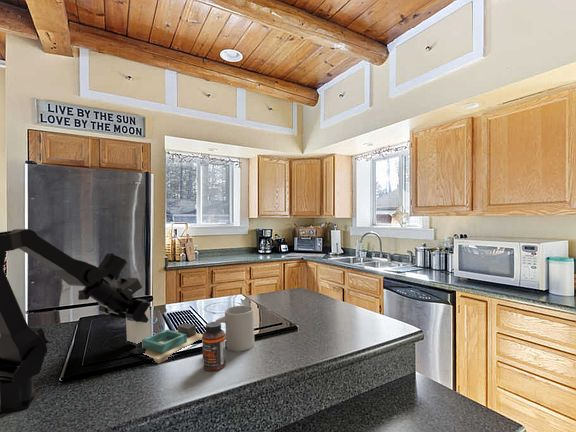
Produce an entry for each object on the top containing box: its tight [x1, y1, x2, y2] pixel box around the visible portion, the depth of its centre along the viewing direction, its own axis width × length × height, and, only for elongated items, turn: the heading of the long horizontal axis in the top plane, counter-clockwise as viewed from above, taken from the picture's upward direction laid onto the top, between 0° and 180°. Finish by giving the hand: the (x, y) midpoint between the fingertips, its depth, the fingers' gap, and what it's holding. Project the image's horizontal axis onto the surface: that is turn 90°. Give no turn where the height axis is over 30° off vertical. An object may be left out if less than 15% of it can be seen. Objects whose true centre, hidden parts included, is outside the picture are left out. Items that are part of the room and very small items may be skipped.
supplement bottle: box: [201, 321, 227, 372], centre depth 85 cm, size 6×6×11 cm
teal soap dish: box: [142, 322, 203, 364], centre depth 98 cm, size 18×13×4 cm
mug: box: [214, 305, 256, 352], centre depth 96 cm, size 12×8×11 cm
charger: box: [125, 305, 152, 344], centre depth 101 cm, size 5×5×12 cm
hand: (142, 319), depth 103 cm, fingers closed on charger, 5 cm apart
